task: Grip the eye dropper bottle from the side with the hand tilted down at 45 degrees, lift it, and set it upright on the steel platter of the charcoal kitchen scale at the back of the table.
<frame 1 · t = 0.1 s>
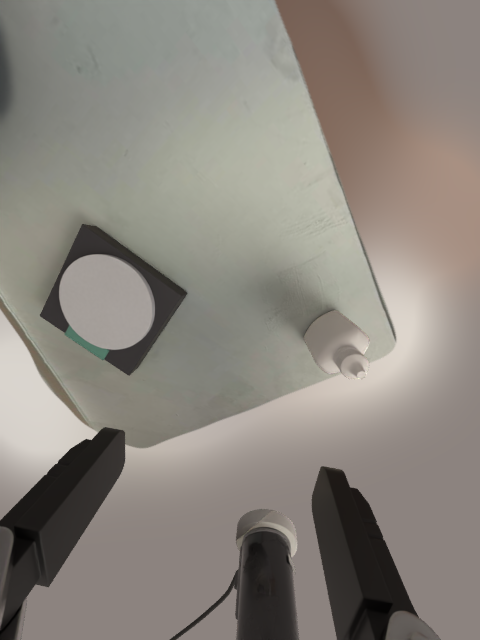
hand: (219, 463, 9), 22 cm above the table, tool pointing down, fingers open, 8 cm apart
scale: (118, 302, 32), on the table
eye dropper bottle: (323, 328, 30), on the table
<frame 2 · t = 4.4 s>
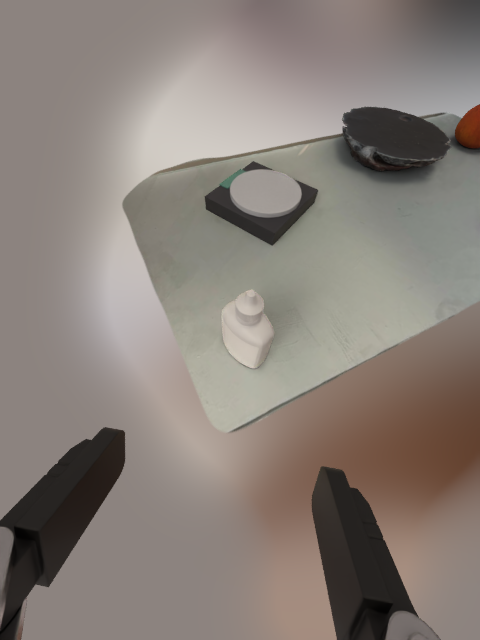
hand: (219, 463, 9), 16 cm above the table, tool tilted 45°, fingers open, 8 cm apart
scale: (261, 205, 42), on the table
fruit: (466, 146, 55), on the table
eye dropper bottle: (244, 350, 29), on the table
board: (381, 157, 51), on the table
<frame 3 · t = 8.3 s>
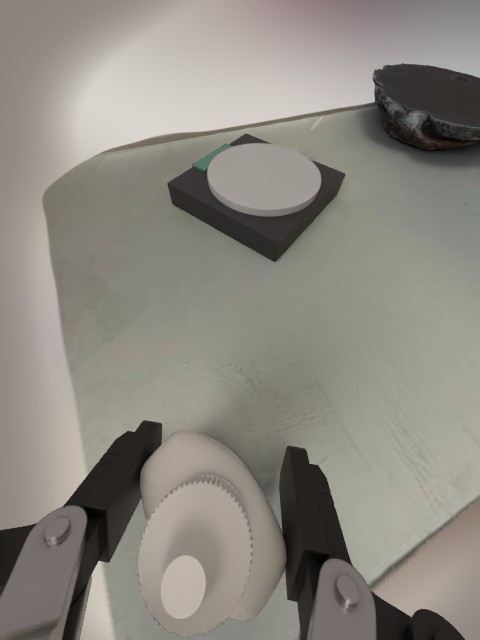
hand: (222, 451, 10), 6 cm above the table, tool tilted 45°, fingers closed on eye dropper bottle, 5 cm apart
scale: (257, 198, 27), on the table
eye dropper bottle: (219, 481, 14), on the table, touching gripper
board: (425, 133, 37), on the table
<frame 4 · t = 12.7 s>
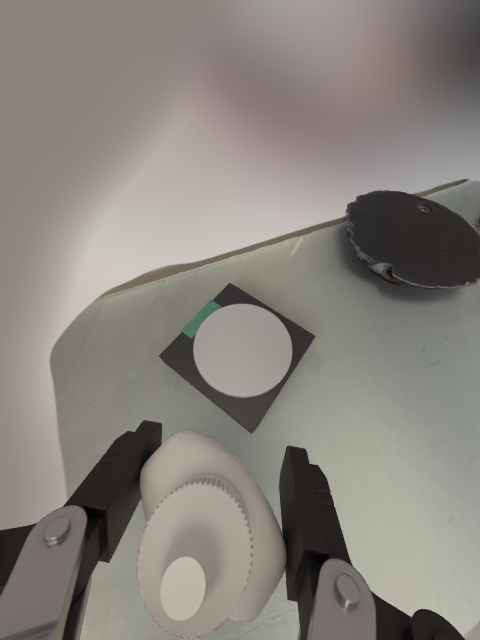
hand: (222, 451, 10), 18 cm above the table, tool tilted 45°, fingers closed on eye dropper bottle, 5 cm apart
scale: (239, 352, 31), on the table
eye dropper bottle: (219, 482, 14), point 12 cm above the table, touching gripper
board: (395, 255, 41), on the table
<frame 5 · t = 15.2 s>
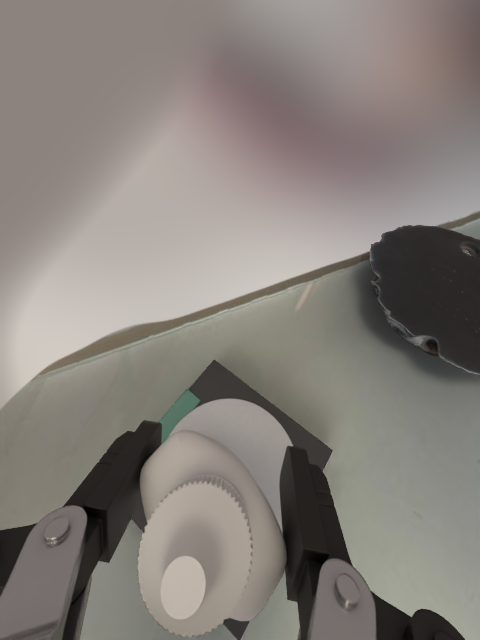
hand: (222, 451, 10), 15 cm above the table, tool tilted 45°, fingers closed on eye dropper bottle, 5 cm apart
scale: (224, 466, 22), on the table
eye dropper bottle: (219, 481, 14), point 9 cm above the table, touching gripper
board: (430, 309, 32), on the table
when the fingers open (9 cm above the table, at t = 17.3 s): eye dropper bottle stays where it is, resting on scale.
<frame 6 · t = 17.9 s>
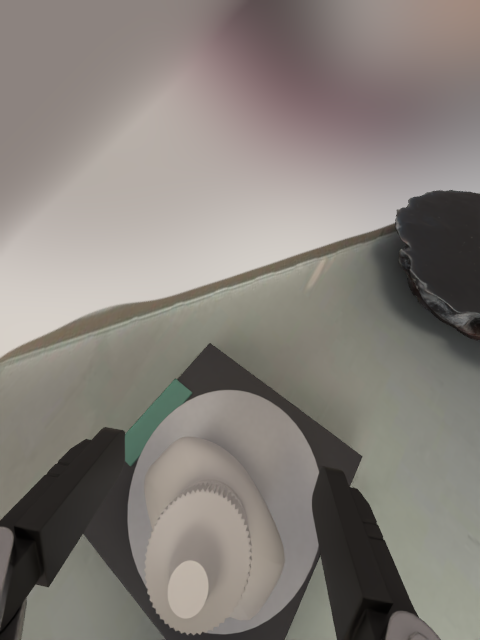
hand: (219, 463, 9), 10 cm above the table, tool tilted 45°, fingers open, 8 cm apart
scale: (222, 476, 17), on the table
eye dropper bottle: (220, 484, 15), point 3 cm above the table, touching scale
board: (465, 288, 27), on the table
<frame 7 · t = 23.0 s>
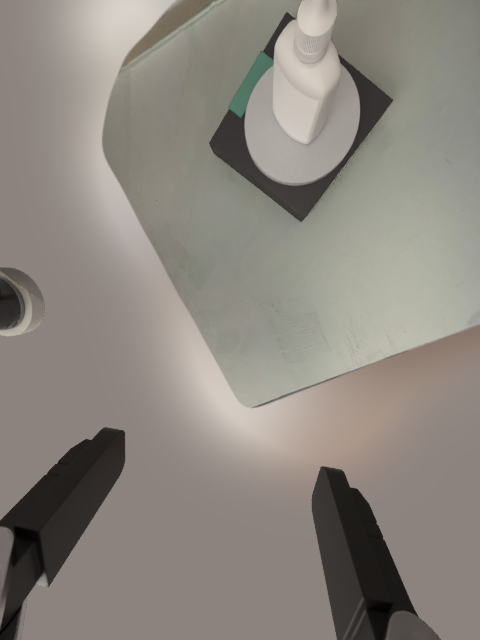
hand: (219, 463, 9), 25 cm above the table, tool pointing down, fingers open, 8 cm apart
scale: (293, 134, 28), on the table
eye dropper bottle: (296, 120, 25), point 3 cm above the table, touching scale
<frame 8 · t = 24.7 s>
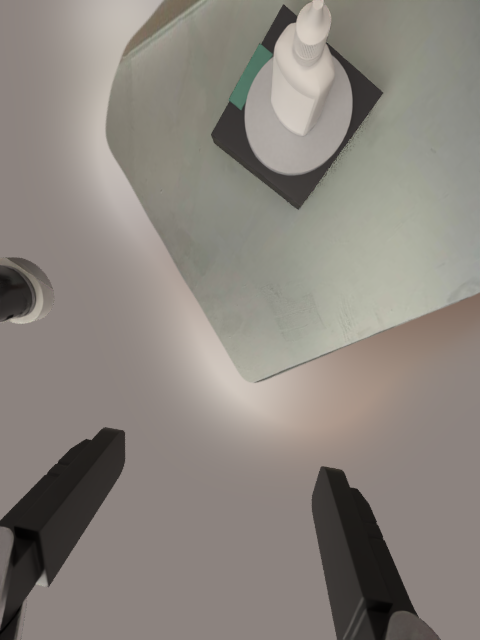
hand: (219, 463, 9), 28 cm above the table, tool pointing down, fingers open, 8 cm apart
scale: (290, 125, 29), on the table
eye dropper bottle: (293, 113, 26), point 3 cm above the table, touching scale
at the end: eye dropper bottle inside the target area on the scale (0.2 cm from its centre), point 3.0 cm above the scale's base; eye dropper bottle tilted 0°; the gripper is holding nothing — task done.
